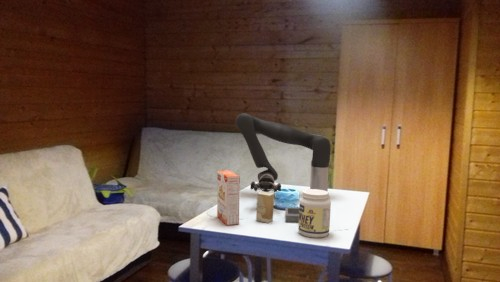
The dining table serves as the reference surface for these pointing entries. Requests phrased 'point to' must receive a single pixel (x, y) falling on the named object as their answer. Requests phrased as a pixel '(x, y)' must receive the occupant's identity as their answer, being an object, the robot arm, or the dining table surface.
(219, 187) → the cracker box
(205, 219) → the dining table surface
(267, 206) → the skincare box
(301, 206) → the supplement tub
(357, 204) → the dining table surface
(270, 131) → the robot arm
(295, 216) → the tray
